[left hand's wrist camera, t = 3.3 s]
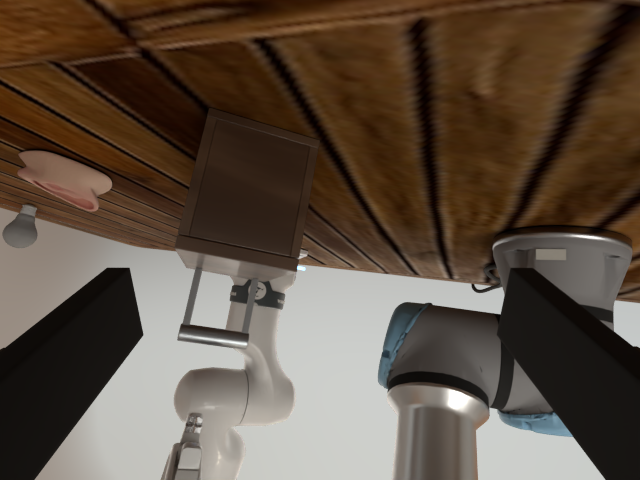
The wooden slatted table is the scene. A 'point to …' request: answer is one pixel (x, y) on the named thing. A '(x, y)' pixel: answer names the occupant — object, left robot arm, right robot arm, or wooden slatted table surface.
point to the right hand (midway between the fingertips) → (194, 427)
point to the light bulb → (22, 228)
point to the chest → (250, 185)
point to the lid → (232, 264)
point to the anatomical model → (65, 178)
